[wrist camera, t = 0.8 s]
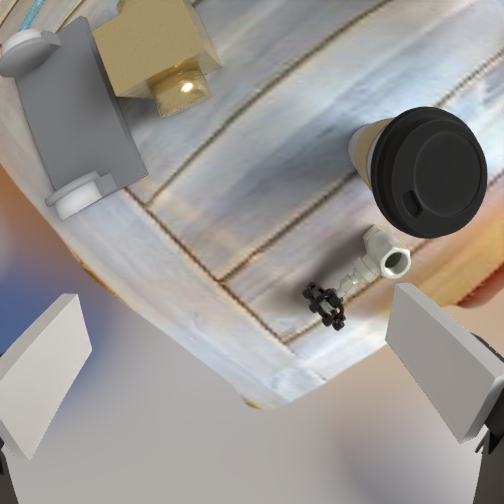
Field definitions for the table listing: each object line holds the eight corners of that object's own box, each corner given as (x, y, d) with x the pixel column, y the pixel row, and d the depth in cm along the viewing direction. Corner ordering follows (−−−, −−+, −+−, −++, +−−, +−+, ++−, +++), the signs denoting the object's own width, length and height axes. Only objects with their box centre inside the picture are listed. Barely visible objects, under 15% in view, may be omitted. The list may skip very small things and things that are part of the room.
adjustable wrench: (54, -41, 19) (75, -36, 20) (58, -39, 20) (79, -34, 21) (3, 44, 24) (19, 54, 25) (7, 45, 25) (24, 54, 26)
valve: (371, 207, 33) (299, 278, 37) (392, 228, 27) (304, 309, 31) (404, 243, 35) (335, 307, 39) (426, 269, 29) (344, 340, 33)
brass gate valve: (189, -6, 24) (164, -38, 16) (233, 92, 29) (219, 84, 21) (124, 27, 26) (84, 8, 17) (163, 123, 30) (128, 127, 22)
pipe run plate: (86, 18, 25) (40, 2, 16) (148, 174, 33) (111, 196, 24) (20, 72, 27) (-28, 73, 19) (74, 213, 35) (31, 242, 27)
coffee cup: (317, 168, 32) (353, 210, 18) (355, 91, 28) (419, 77, 14) (389, 206, 33) (454, 267, 19) (425, 135, 29) (511, 158, 16)
